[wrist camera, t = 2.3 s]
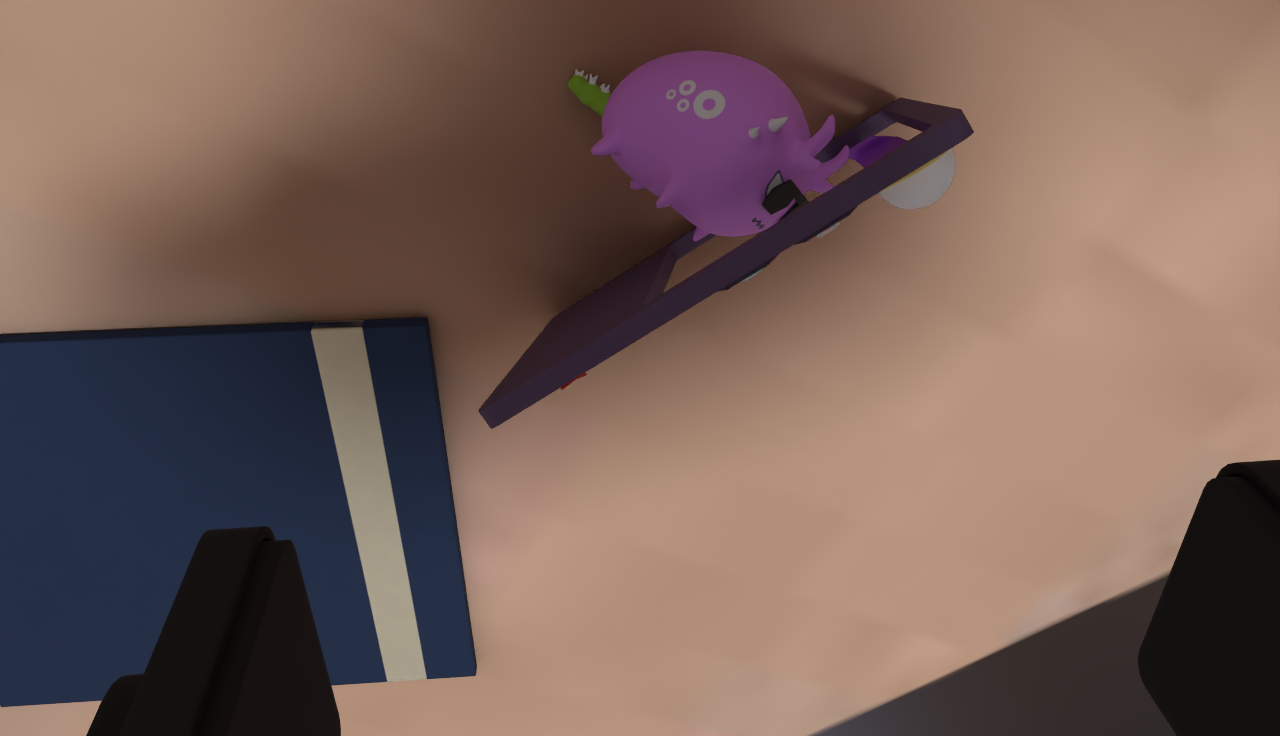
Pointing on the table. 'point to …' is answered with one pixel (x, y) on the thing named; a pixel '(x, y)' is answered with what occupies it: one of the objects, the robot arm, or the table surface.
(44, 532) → the cloth
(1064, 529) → the table surface
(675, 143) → the monster skateboard toy
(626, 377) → the table surface
